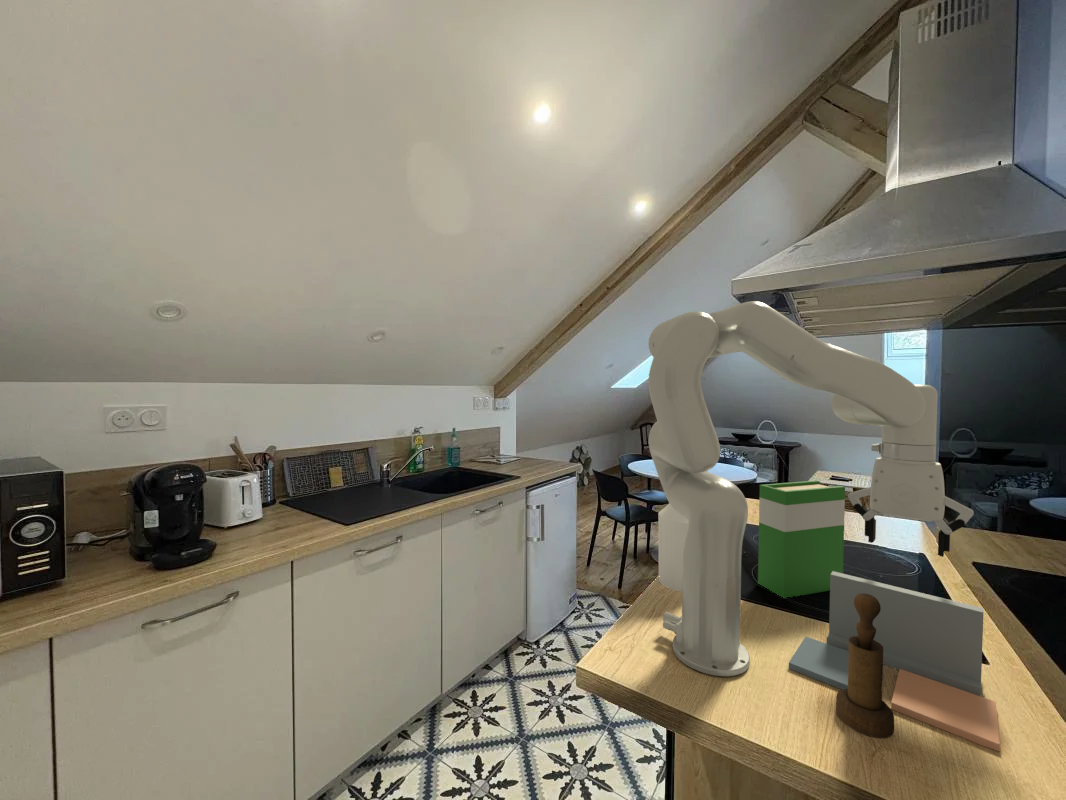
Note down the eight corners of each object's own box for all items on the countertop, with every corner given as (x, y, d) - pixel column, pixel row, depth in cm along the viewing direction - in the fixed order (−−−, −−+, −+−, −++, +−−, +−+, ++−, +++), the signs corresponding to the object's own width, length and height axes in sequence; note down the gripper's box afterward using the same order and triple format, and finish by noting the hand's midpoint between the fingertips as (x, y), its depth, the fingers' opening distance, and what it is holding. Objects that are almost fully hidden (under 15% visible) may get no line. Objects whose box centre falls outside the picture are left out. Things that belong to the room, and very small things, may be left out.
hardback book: (814, 575, 112) (816, 480, 111) (842, 588, 105) (845, 486, 104) (757, 584, 107) (759, 484, 106) (783, 598, 100) (785, 491, 99)
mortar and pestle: (829, 718, 64) (832, 593, 63) (842, 697, 68) (845, 580, 67) (888, 746, 59) (892, 611, 58) (898, 722, 63) (902, 596, 62)
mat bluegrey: (788, 668, 75) (788, 662, 75) (805, 641, 83) (805, 636, 83) (869, 700, 67) (870, 694, 67) (880, 667, 75) (880, 662, 75)
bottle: (684, 597, 100) (686, 486, 99) (647, 577, 110) (648, 477, 110) (720, 586, 106) (722, 481, 105) (681, 568, 116) (682, 472, 115)
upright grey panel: (826, 644, 82) (828, 577, 81) (833, 632, 86) (835, 568, 86) (981, 698, 68) (983, 617, 67) (980, 679, 72) (982, 603, 72)
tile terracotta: (891, 709, 65) (891, 702, 65) (899, 674, 73) (899, 668, 73) (999, 752, 58) (999, 744, 58) (995, 708, 66) (995, 701, 66)
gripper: (845, 450, 84) (843, 540, 84) (975, 461, 71) (972, 567, 72) (853, 446, 89) (850, 531, 89) (975, 456, 77) (971, 554, 77)
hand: (905, 547), depth 81 cm, fingers open, 9 cm apart
